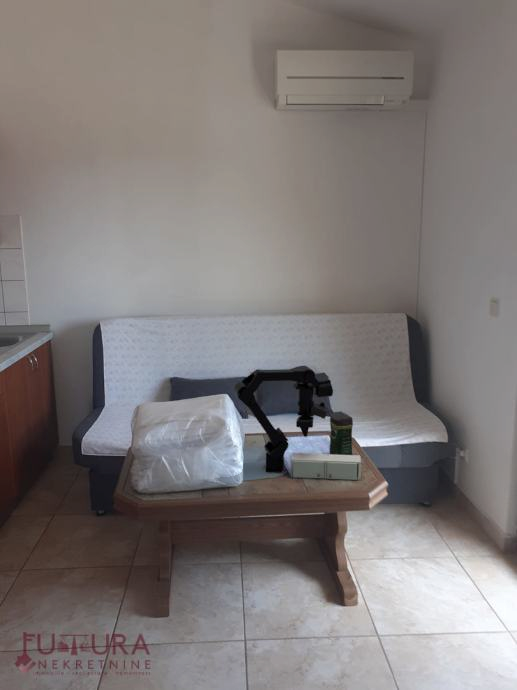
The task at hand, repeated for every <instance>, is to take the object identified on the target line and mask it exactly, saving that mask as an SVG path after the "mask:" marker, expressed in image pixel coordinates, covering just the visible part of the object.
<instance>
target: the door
mask: <svg viewBox="0 0 517 690" xmlns="http://www.w3.org/2000/svg"><path fill="white" fill-rule="evenodd" d="M291 478H292V479H294V478H305V479H307V478H308V479H325V478H324V462H320V461H293V460H291V459H290V479H291Z"/></svg>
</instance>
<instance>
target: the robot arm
mask: <svg viewBox="0 0 517 690" xmlns="http://www.w3.org/2000/svg"><path fill="white" fill-rule="evenodd" d="M282 381H284V382H285V381H286V382H288V381H289V382H290V381H291V382H296V383H294V384H293V385H292V387H293V388H294V389H295V390H298V391H297V393H298V395H297V397H298V398H297V400H298V402H297V407H298V410H297V416H298V417H297V418H296V421H295V422H296V424H295V425H296V426H295V427H296V428H299V429H300V430H301V433H302V435H303V437H305V438H307V437H308V434H309V429H310V428H311V429H312V428H313V427H314V416H317V417H319V418H321V419H325V418H326V416H327V414H328V412H329V409H328V407H327V406H326V403H325V401H324V402H323V401H320V402H319V403H315V400H314V396H315V397H316V398H318V399H319V398H328V397H333V394H334V389H333V385H332V383H331V382H332V381H331V379H329V378H327V379H320V380H318V379H317V378H316V373H315V371H314V370H313V369H311V368H310V367H309V366H307V365H299V366H295V367H293V368H292V367H291V368H288V369H283V368H282V369H260V368H259V369H258V368H257V369H256V370H254V371H253V372H252V373H251V374H249V375H247V376H246V377H244V378H243V380H241V381H239V382H237V383H236V384H234V387H233V392H234V394H235V396H236V397H237V398H238V400H240V401H241V402H242V403H243V404H244V405H245V406H246V407H247V408H248V409H249V411H251V413H252V415H253V416H254V418H255V419H256V420H257V422H258V424H260V426H261V428H262V429H263V430H264V432H265V434H266V437H267V439H268V441H267V443H266V444H264V446H263V448H264V450H265V452H266V455H265V469H264V471H265V472H267V473H283V470H284V468H285V456H284V455H285V453H286V451H287V450H288V448H289V442H288V441H289V439H288V438H287V436H286V435H285V434H284V432H283V431H282V430H281V428H280V427H277V428H275V427H274V425H273V424H272V423H271V421H270V420H269V418H268V416H267V415H266V414H265V412H264V411H263V409H261V407H260V405H259V403H258V402H257V399H256V397H255V394H254V393H255V392H257V390H258V388H259V387H260V386H261V384H262V383H263V382H282Z"/></svg>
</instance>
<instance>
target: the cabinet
mask: <svg viewBox="0 0 517 690" xmlns="http://www.w3.org/2000/svg"><path fill="white" fill-rule="evenodd" d="M361 459H362V458H361V455H359V454H358V455H355V454H352V455H334V454H330V453H329V454H328V453H327V454H325V453H305V452H304V453H303V452H301V453H300V452H292V453H291V457H290V461H291V460H293V461H320V462H324V478H323V479H330V480H351V481H357V480H361V477H362V476H361V473H362V471H361V469H362V467H361V465H362V462H361V461H362V460H361Z"/></svg>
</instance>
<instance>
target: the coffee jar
mask: <svg viewBox="0 0 517 690" xmlns="http://www.w3.org/2000/svg"><path fill="white" fill-rule="evenodd" d="M353 424H354V421H353V417H352V416H350V415H349V414H347V413H345V412H343V411H335V412H334V411H333V412H332V413H331V414H330V418H329V425H330V437H329V438H330V440H329V454H334V455H353V441H352V440H353V436H352V435H353Z"/></svg>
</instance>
